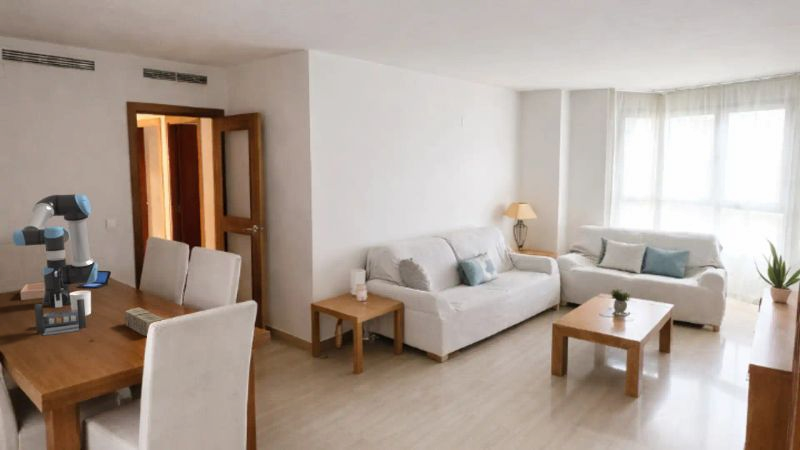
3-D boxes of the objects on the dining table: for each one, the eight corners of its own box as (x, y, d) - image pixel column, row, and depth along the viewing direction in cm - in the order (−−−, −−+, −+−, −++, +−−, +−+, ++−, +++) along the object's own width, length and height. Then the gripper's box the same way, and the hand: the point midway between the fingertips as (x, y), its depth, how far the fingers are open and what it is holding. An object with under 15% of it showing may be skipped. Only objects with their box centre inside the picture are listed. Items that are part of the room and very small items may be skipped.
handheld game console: (76, 288, 331) (75, 274, 330) (91, 283, 344) (90, 270, 343) (98, 289, 329) (97, 275, 328) (112, 284, 342) (111, 270, 341)
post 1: (37, 332, 242) (34, 304, 241) (44, 331, 244) (42, 303, 242) (36, 334, 240) (33, 305, 238) (44, 333, 241) (41, 304, 240)
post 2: (79, 327, 251) (77, 299, 249) (86, 326, 252) (84, 298, 251) (78, 328, 248) (76, 300, 247) (86, 327, 250) (83, 300, 248)
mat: (45, 329, 247) (45, 328, 247) (79, 324, 254) (79, 324, 254) (43, 335, 238) (43, 335, 238) (78, 331, 245) (78, 330, 245)
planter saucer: (26, 292, 319) (25, 284, 319) (64, 288, 329) (63, 281, 329) (21, 300, 301) (20, 291, 301) (61, 295, 311) (60, 287, 310)
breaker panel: (45, 325, 254) (44, 313, 253) (82, 320, 262) (81, 309, 261) (43, 329, 247) (42, 317, 247) (82, 324, 255) (81, 312, 254)
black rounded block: (68, 306, 242) (67, 292, 241) (50, 308, 238) (49, 294, 238) (68, 301, 250) (67, 288, 250) (51, 303, 247) (50, 290, 246)
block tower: (124, 326, 255) (147, 338, 235) (123, 310, 254) (146, 320, 234) (141, 323, 260) (165, 334, 241) (140, 307, 260) (163, 316, 240)
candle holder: (82, 317, 266) (80, 295, 265) (66, 316, 268) (64, 294, 267) (96, 312, 276) (95, 290, 274) (81, 311, 278) (79, 290, 276)
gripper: (49, 256, 250) (52, 300, 252) (43, 263, 230) (47, 311, 233) (67, 254, 254) (70, 298, 256) (63, 262, 234) (67, 308, 236)
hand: (59, 304), depth 244 cm, fingers closed on black rounded block, 10 cm apart
